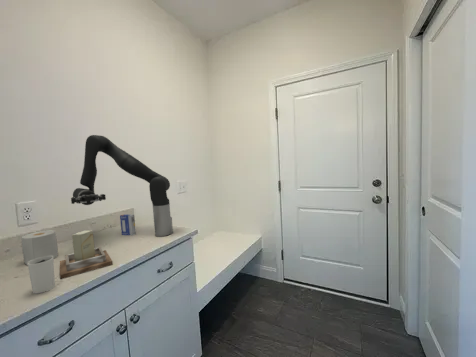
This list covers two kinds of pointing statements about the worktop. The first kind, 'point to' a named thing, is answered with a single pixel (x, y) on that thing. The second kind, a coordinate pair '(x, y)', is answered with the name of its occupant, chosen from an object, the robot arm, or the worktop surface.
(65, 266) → the socket board
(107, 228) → the worktop surface
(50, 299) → the worktop surface
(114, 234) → the worktop surface
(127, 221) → the walkman
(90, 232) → the skincare box
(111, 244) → the worktop surface
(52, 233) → the toilet paper roll
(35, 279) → the white coffee cup
